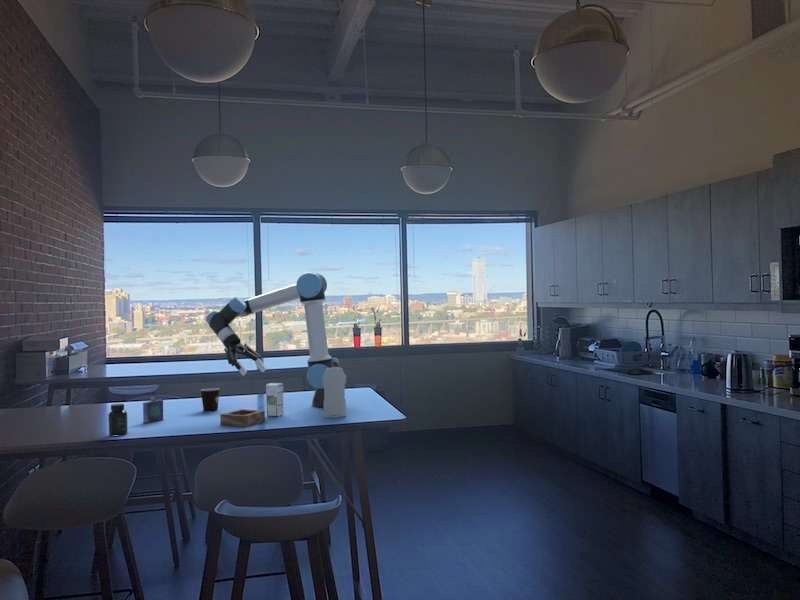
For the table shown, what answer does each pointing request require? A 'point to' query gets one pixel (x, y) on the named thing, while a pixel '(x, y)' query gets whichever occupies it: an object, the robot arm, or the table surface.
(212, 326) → the robot arm
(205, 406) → the coffee mug
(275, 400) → the white printed canister
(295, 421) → the table surface
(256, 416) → the socket block
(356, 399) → the table surface
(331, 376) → the tall pale column
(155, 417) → the flask
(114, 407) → the supplement bottle
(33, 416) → the table surface
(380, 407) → the table surface
